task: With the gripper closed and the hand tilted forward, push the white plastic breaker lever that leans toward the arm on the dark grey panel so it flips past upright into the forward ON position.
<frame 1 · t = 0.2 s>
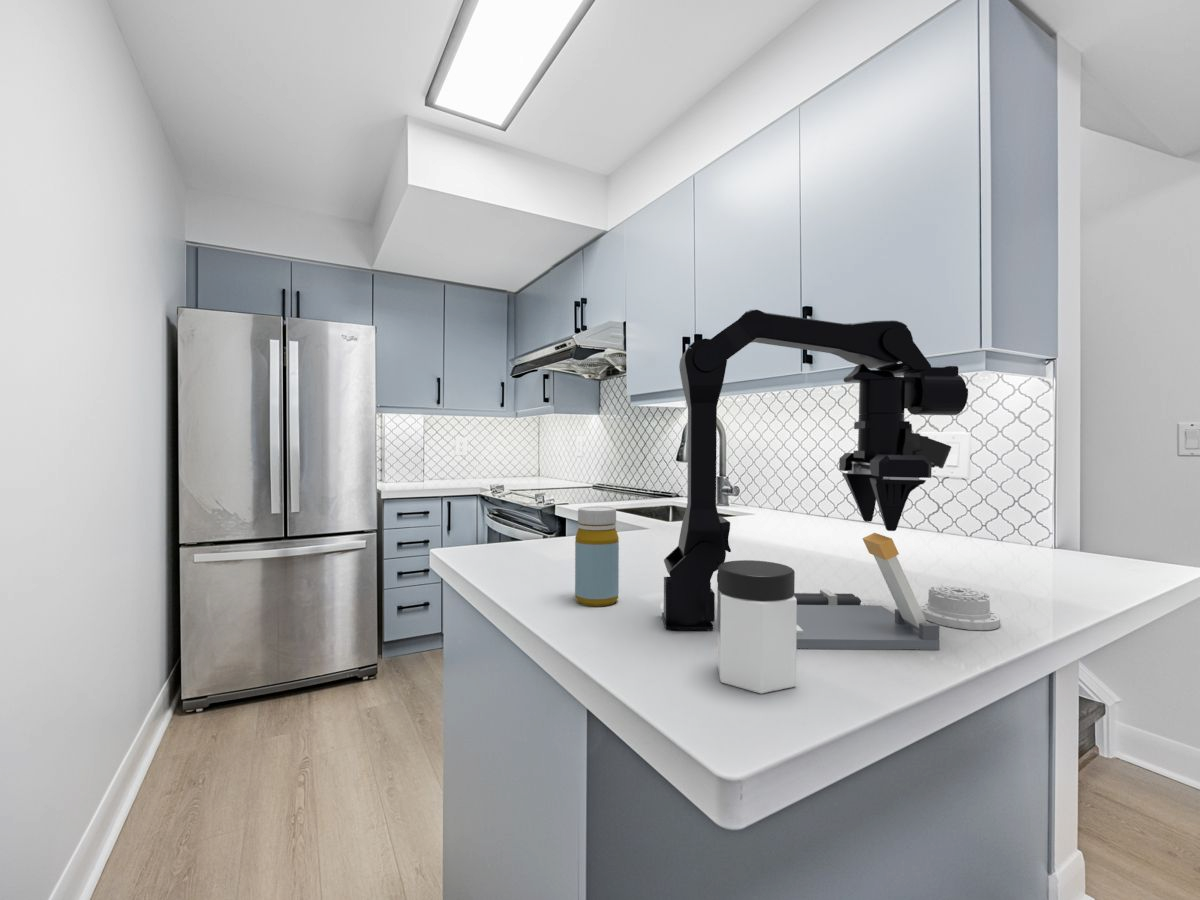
hand: (878, 525, 79), 14 cm above the countertop, tool pointing down, fingers open, 9 cm apart
mechanical component: (958, 622, 82), on the countertop
lever: (897, 583, 73), point 7 cm above the countertop, hinge at -25.0°
jar: (754, 678, 62), on the countertop
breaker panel: (830, 629, 77), on the countertop
dressed cords: (798, 605, 89), on the countertop
bottle: (596, 602, 91), on the countertop
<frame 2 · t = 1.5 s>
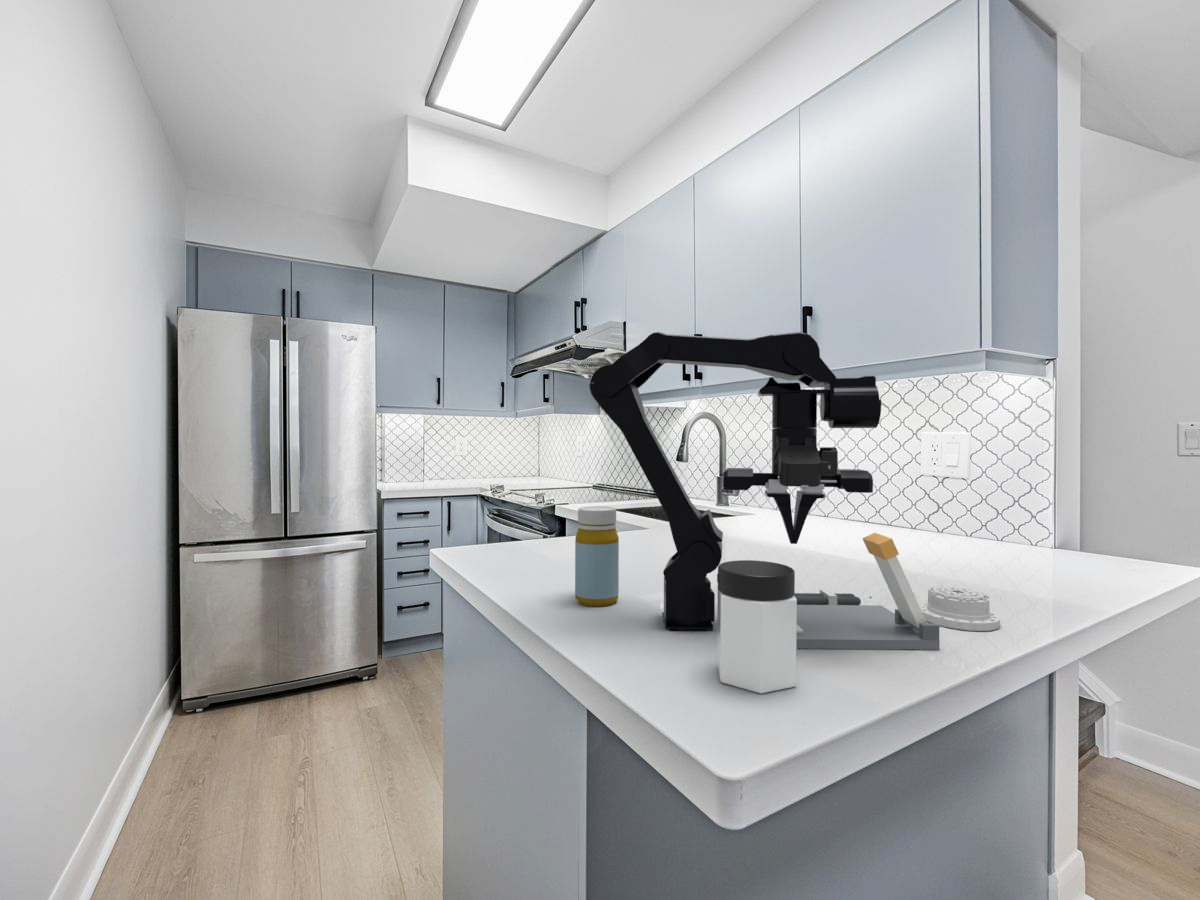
hand: (793, 543, 76), 12 cm above the countertop, tool pointing down, fingers closed
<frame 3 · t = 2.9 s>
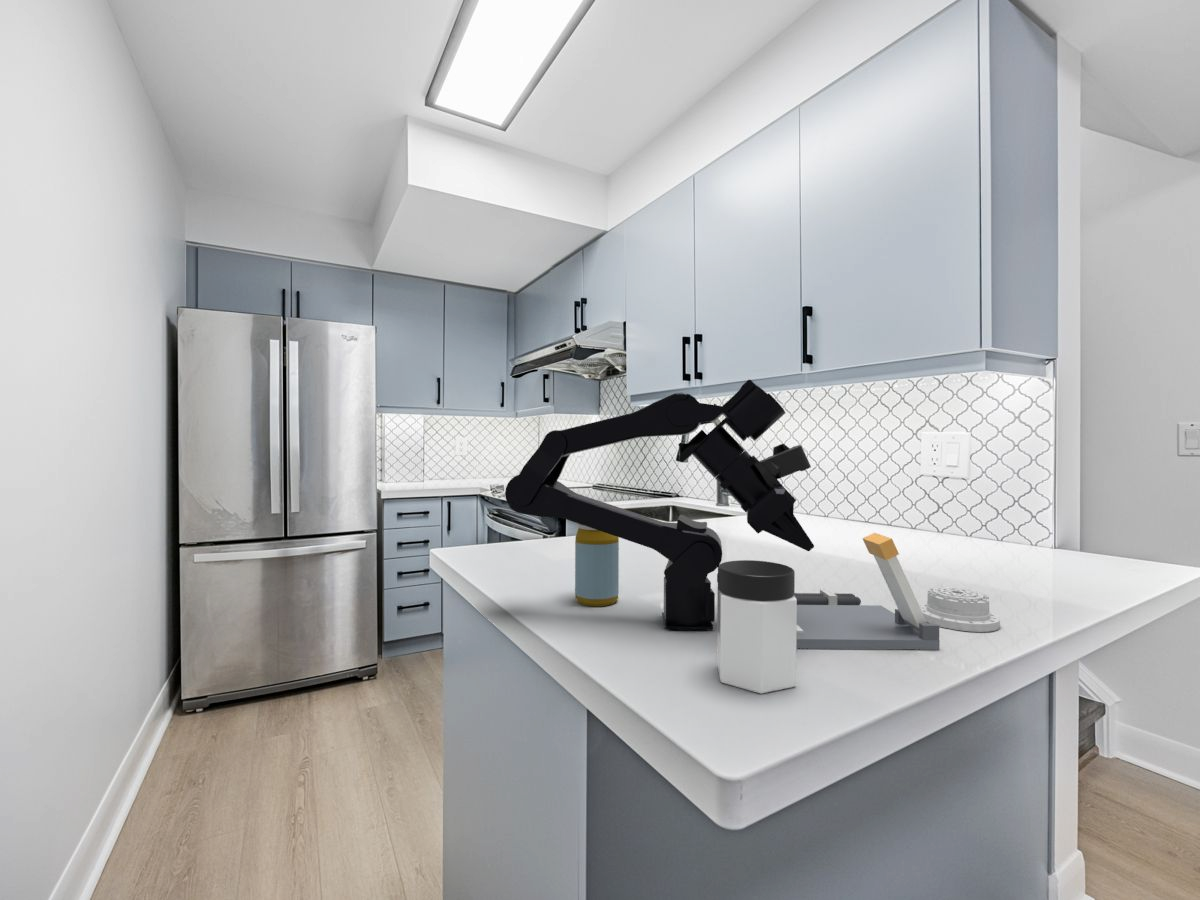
hand: (811, 548, 76), 11 cm above the countertop, tool tilted 45°, fingers closed
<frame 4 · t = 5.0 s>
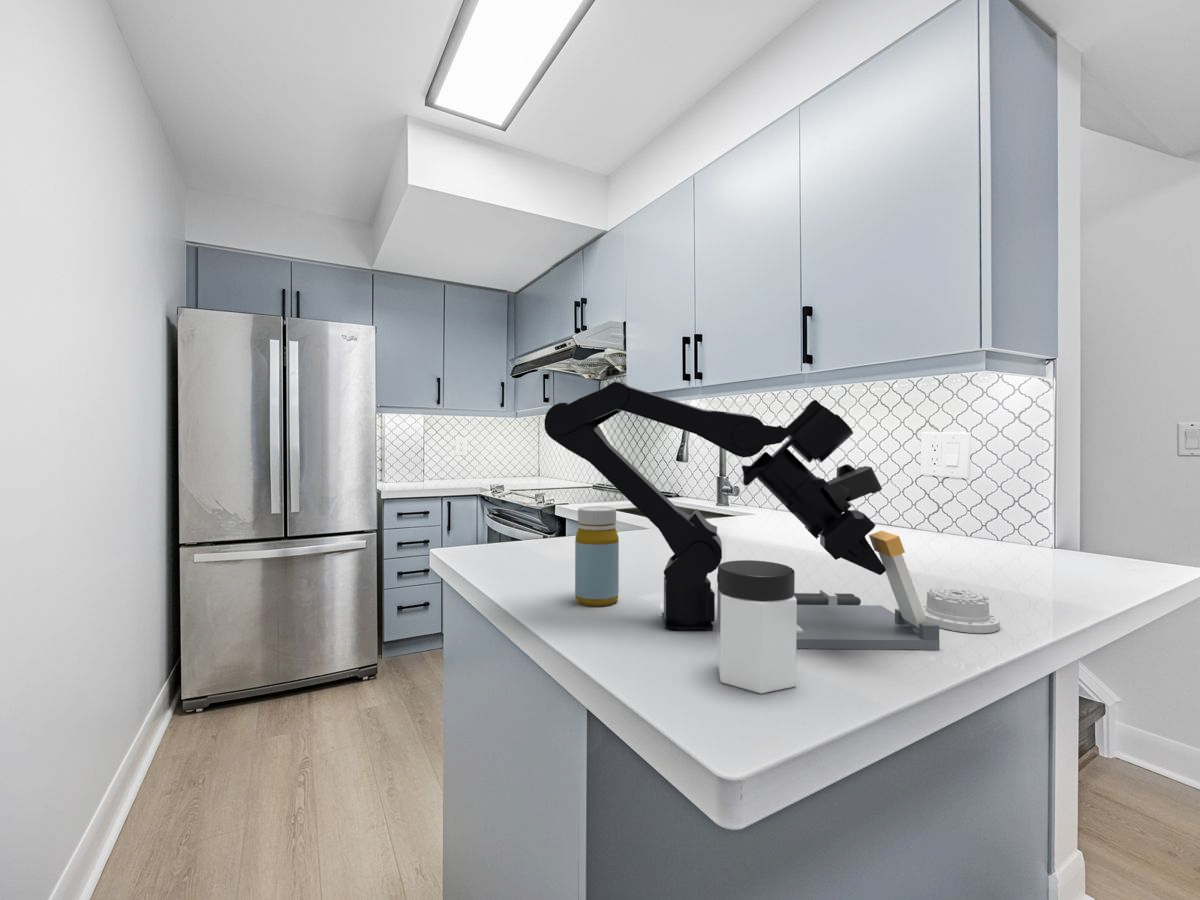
hand: (882, 572, 74), 9 cm above the countertop, tool tilted 45°, fingers closed
lever: (900, 582, 73), point 8 cm above the countertop, hinge at -20.6°, touching gripper
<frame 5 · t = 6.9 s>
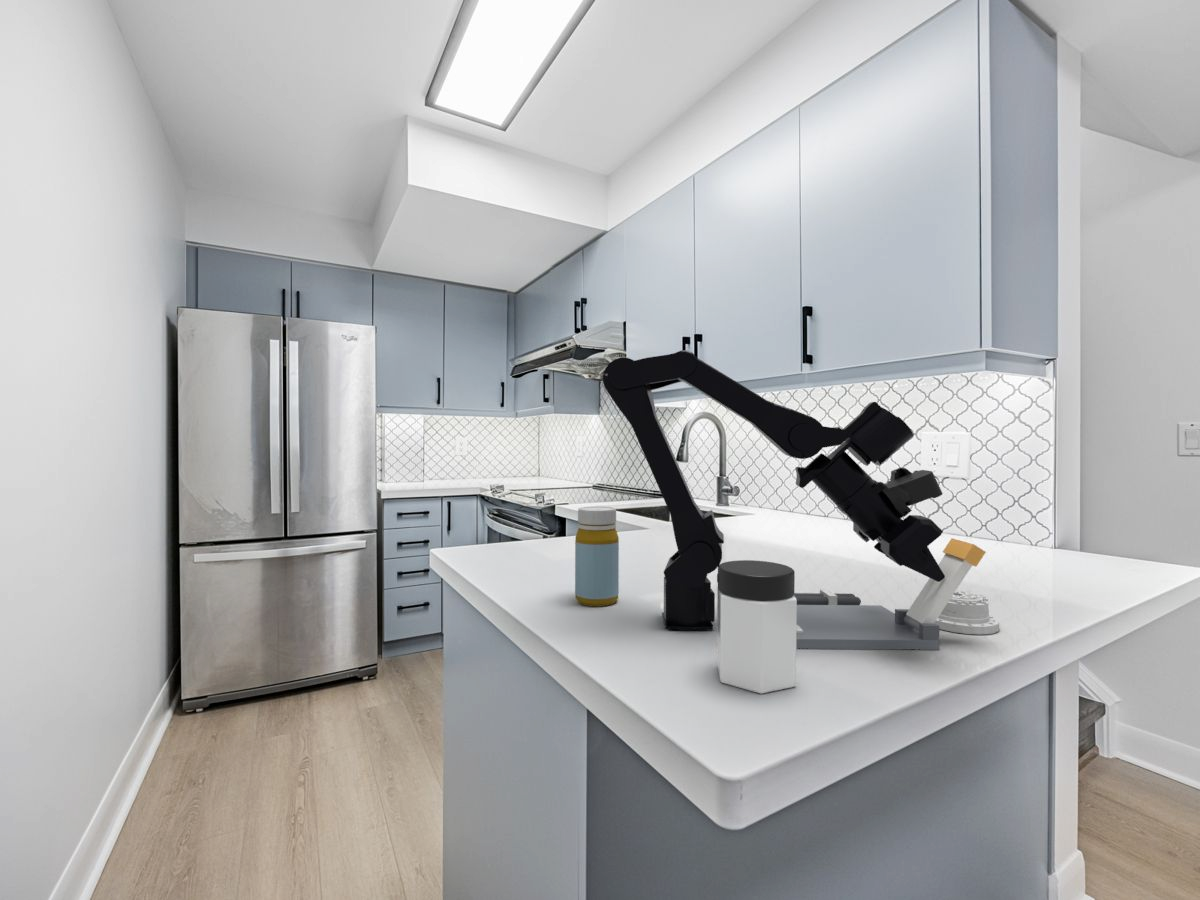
hand: (939, 577, 73), 8 cm above the countertop, tool tilted 45°, fingers closed
lever: (940, 586, 73), point 7 cm above the countertop, hinge at 32.5°, touching gripper
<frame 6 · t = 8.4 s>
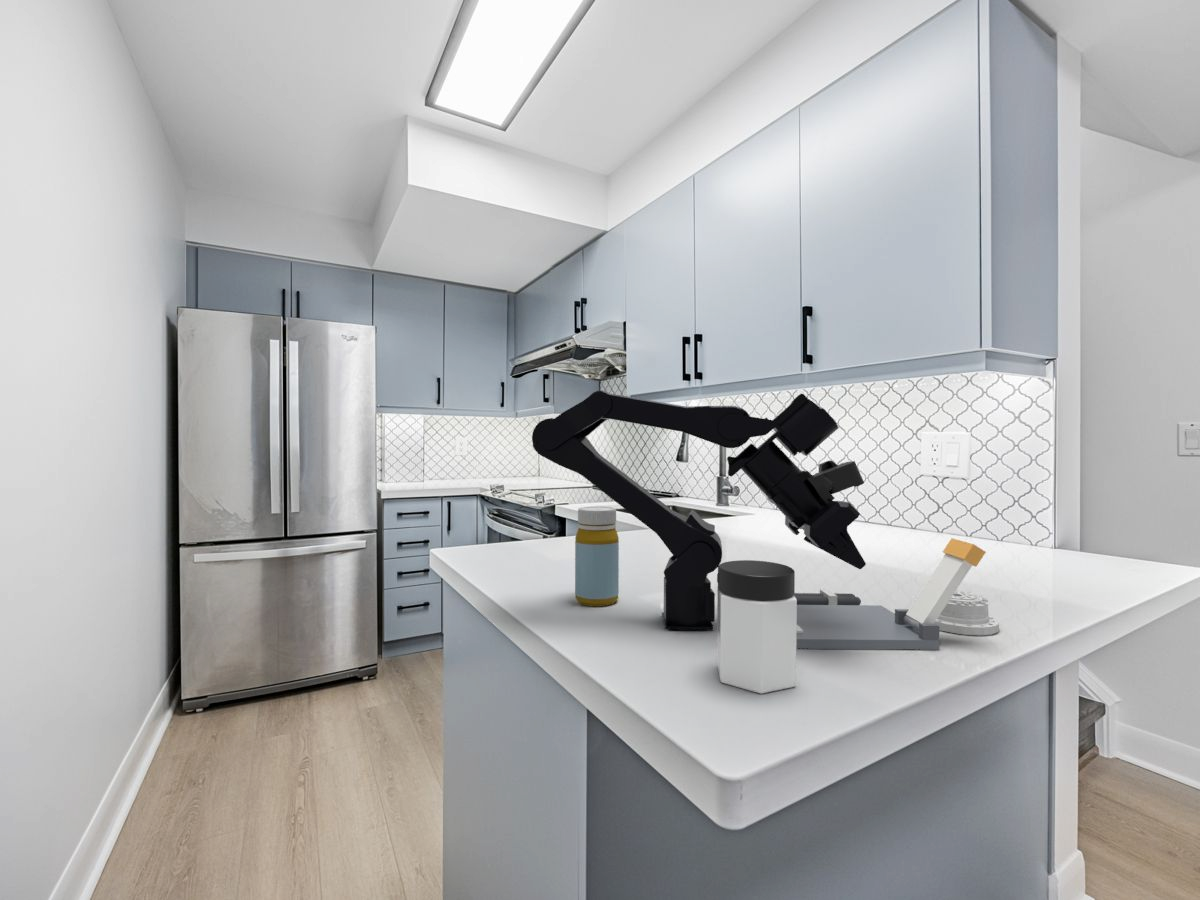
hand: (862, 566, 75), 9 cm above the countertop, tool tilted 45°, fingers closed
lever: (940, 586, 73), point 7 cm above the countertop, hinge at 32.5°
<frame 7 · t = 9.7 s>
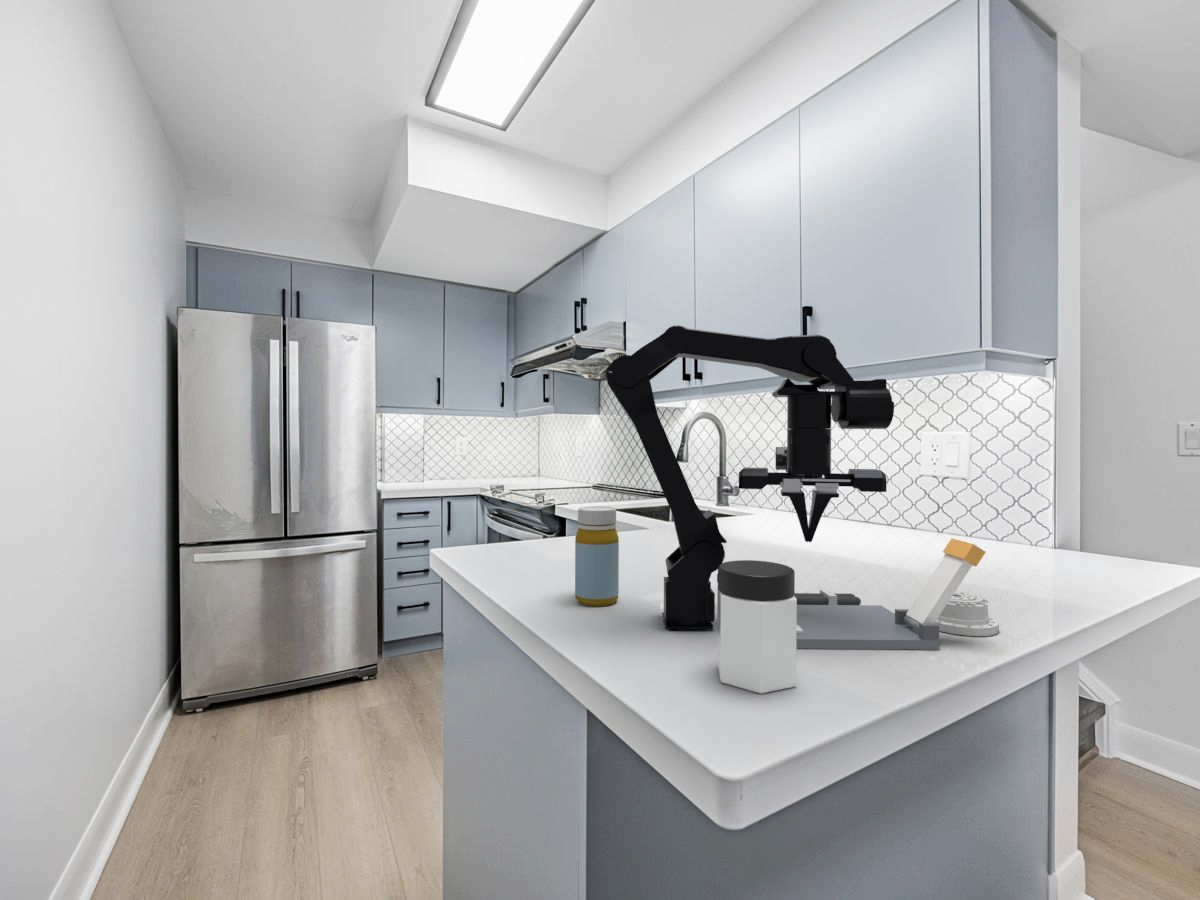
hand: (808, 541, 78), 12 cm above the countertop, tool pointing down, fingers closed
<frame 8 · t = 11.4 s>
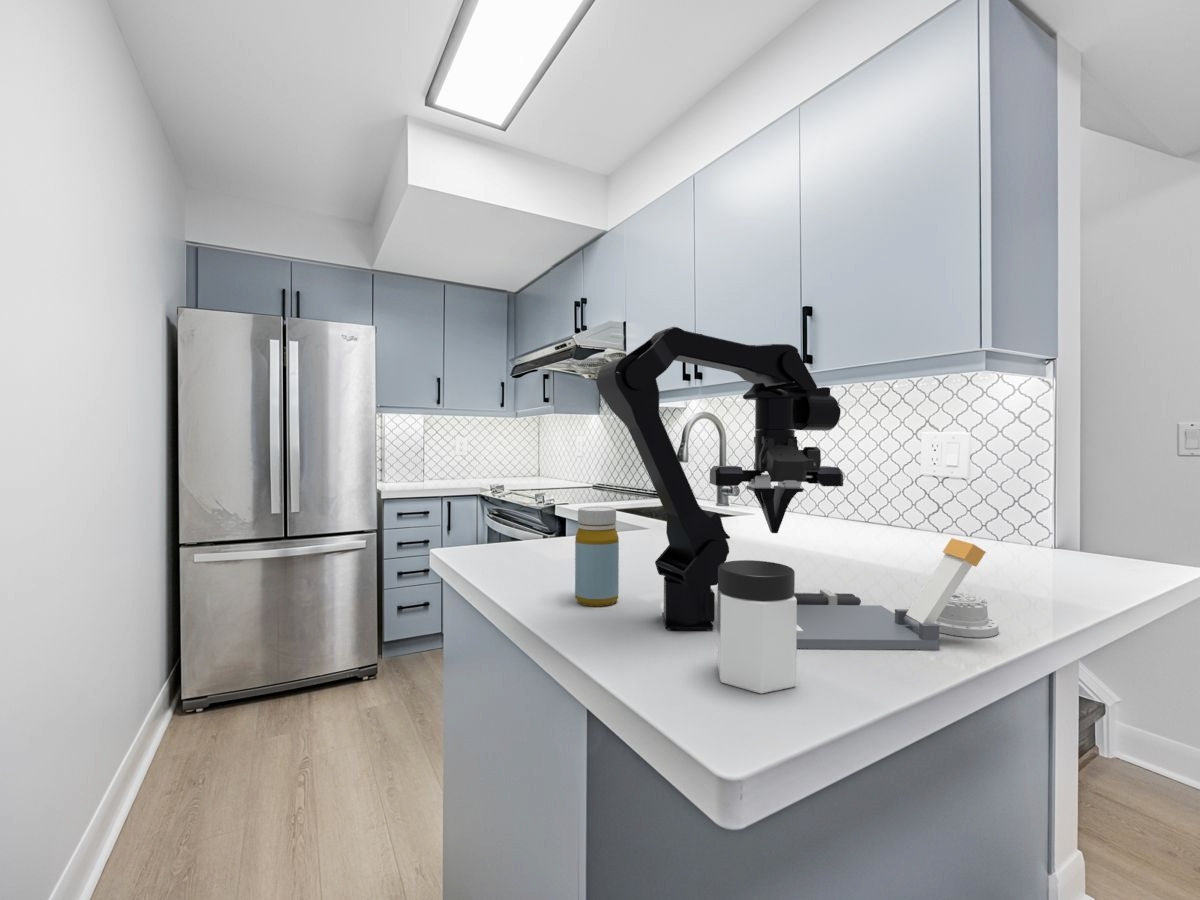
hand: (774, 532, 85), 12 cm above the countertop, tool pointing down, fingers closed
at the end: lever at +32° (first picture: -25°) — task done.
